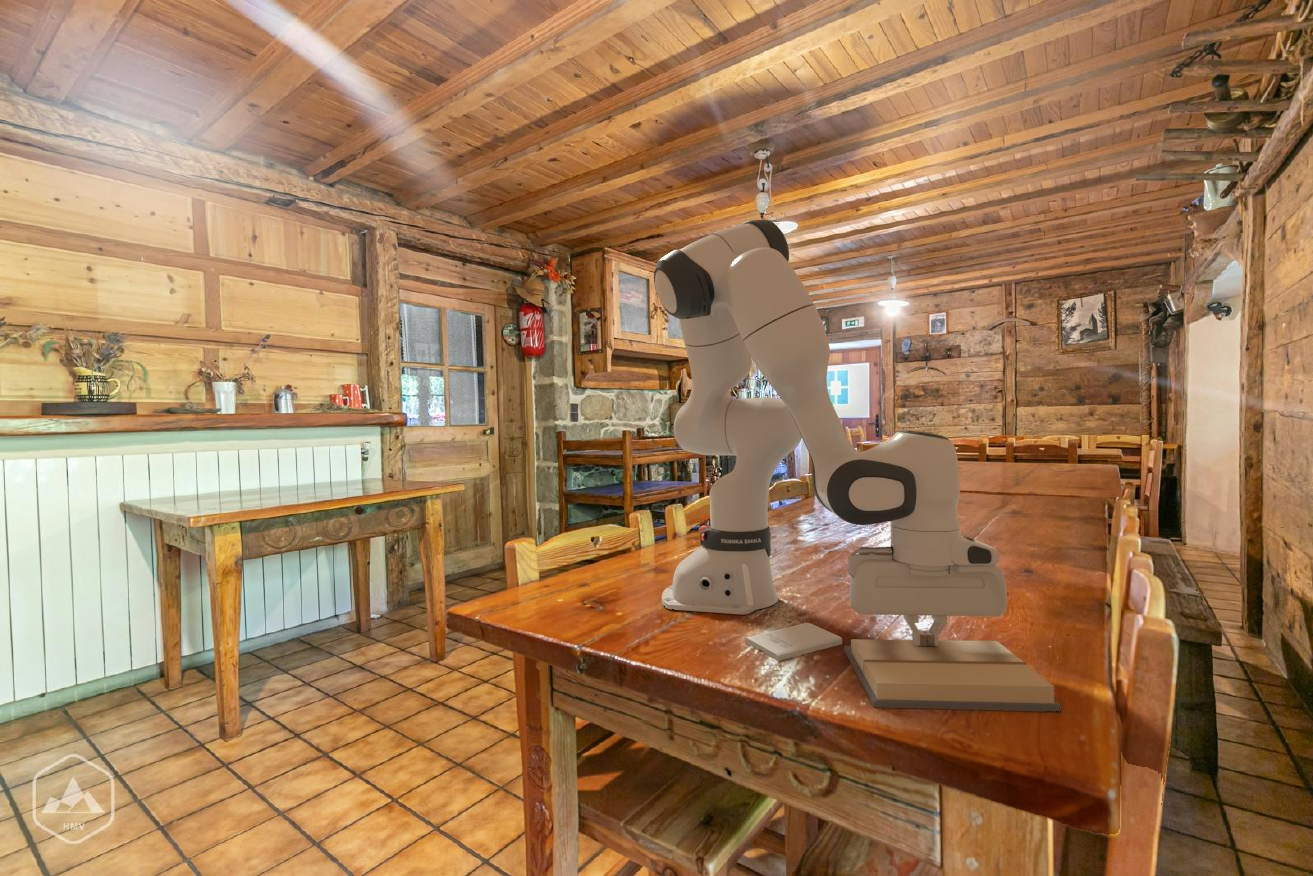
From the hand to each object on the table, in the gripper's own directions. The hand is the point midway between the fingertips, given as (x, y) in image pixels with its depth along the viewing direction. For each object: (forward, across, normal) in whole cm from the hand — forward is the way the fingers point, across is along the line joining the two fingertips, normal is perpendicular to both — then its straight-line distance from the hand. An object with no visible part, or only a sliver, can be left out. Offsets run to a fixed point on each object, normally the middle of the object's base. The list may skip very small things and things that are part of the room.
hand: (925, 645), depth 82 cm
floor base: (+3, 0, -4) cm, 5 cm away
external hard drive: (+4, -17, +7) cm, 19 cm away
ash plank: (+2, 0, -2) cm, 3 cm away
